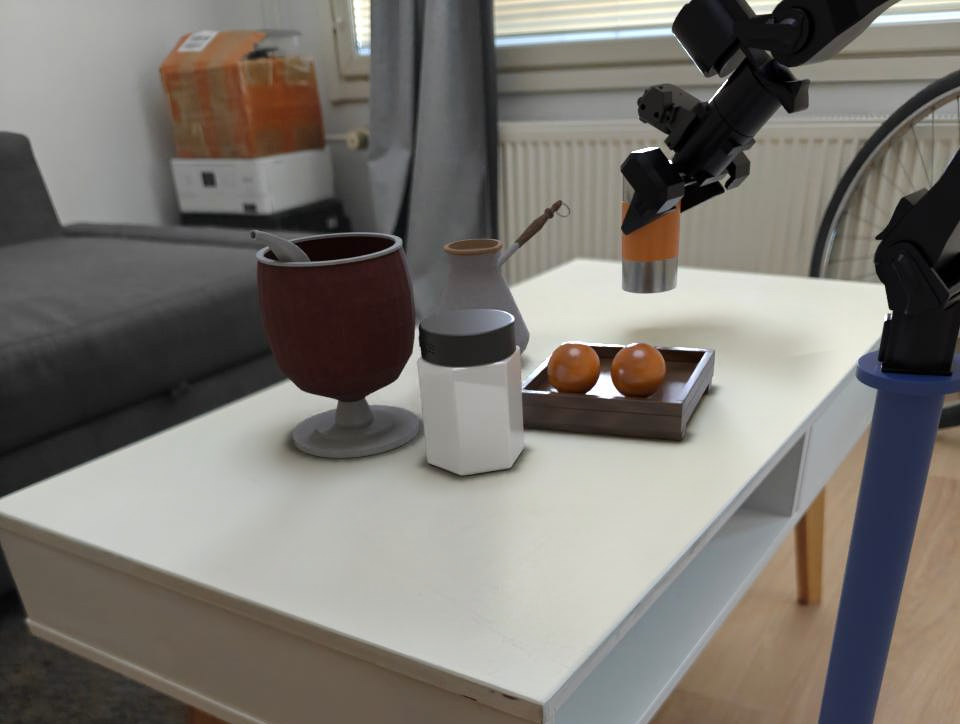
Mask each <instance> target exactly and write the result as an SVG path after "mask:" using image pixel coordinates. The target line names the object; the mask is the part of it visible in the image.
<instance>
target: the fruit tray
mask: <svg viewBox="0 0 960 724" xmlns="http://www.w3.org/2000/svg"><path fill="white" fill-rule="evenodd" d="M715 361H716V349H714V348H713V349H711V348H695V347H675V346H674V347H671V346H653V345H651V344H648V343H645V342H633V343H629V344H611V343H610V344H609V343H591V342H590V343H588V342H582V341H575V340H574V341H573V340H572V341H563V342H562V343H561V344H560V345H559V346H558V347H556V348H555V349H554V350H553V352H552V353H550V354H549V356H547V357H546V358H545V359H544V360H543V361H542V362H541V363H540V364H539V365H538V366H537V367H536V368H535V369H534V370H533V371H531V373H530V374H529V375H528V376H527V377H526V378H525V379H523V381H521V385H522V409H523V428H527V429H539V430H550V431H551V430H552V431H562V432H574V433H586V434H587V433H588V434H600V435H611V436H624V437H636V438H647V439H648V438H649V439H658V440H671V441H672V440H673V441H683V440H684V438H685V435H686V432H687V431H686V430H687V423H688V422H689V420H690V417H691V416H692V414H693V413H694V410H695V409H696V407H697V405H698V404H699V402H700V400H701V399H702V396H703V395H704V393H708V394H709V393H710V391H711V389H712V385H713V377H714V372H715Z"/></svg>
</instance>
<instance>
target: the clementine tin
mask: <svg viewBox="0 0 960 724" xmlns="http://www.w3.org/2000/svg"><path fill="white" fill-rule="evenodd" d="M668 160H669V161H670V159H668ZM670 163H671V161H670ZM671 164H672V163H671ZM634 191H635V190H634V189H633V188H632V186H631V185H630V184H629V182H628V181H627V179H626V178H625V177H624V175H623V174H622V199H621V224H622V223H623V220H624V218H625V215H626V213H627V210H628V208H629V205H630V203H631V200H632V197H633V194H634ZM675 206H676V208H677V209H676V210H674V211H672V212H670V213H668V214H666V215H664V216H663V217H661V218H659V219H657V220H655V221H653V222H651V223H649V224H648V225H646V226H644V227H642V228H640V229H638V230H636V231H634V232H633V233H631V234H629V235H625V234H624V233H623V231H622V230H621V289H622V291H624V292H627V293H632V294H641V295H642V294H643V295H644V294H648V295H649V294H659V293H660V294H661V293H665V292H669V291H672V290H674V289H676V288H678V287H677V286H678V270H679V269H678V267H679V254H680V253H679V251H680V232H681V231H680V228H681V214H680V207H681V199H680V201H679V202H678V203H677V204H675Z"/></svg>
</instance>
